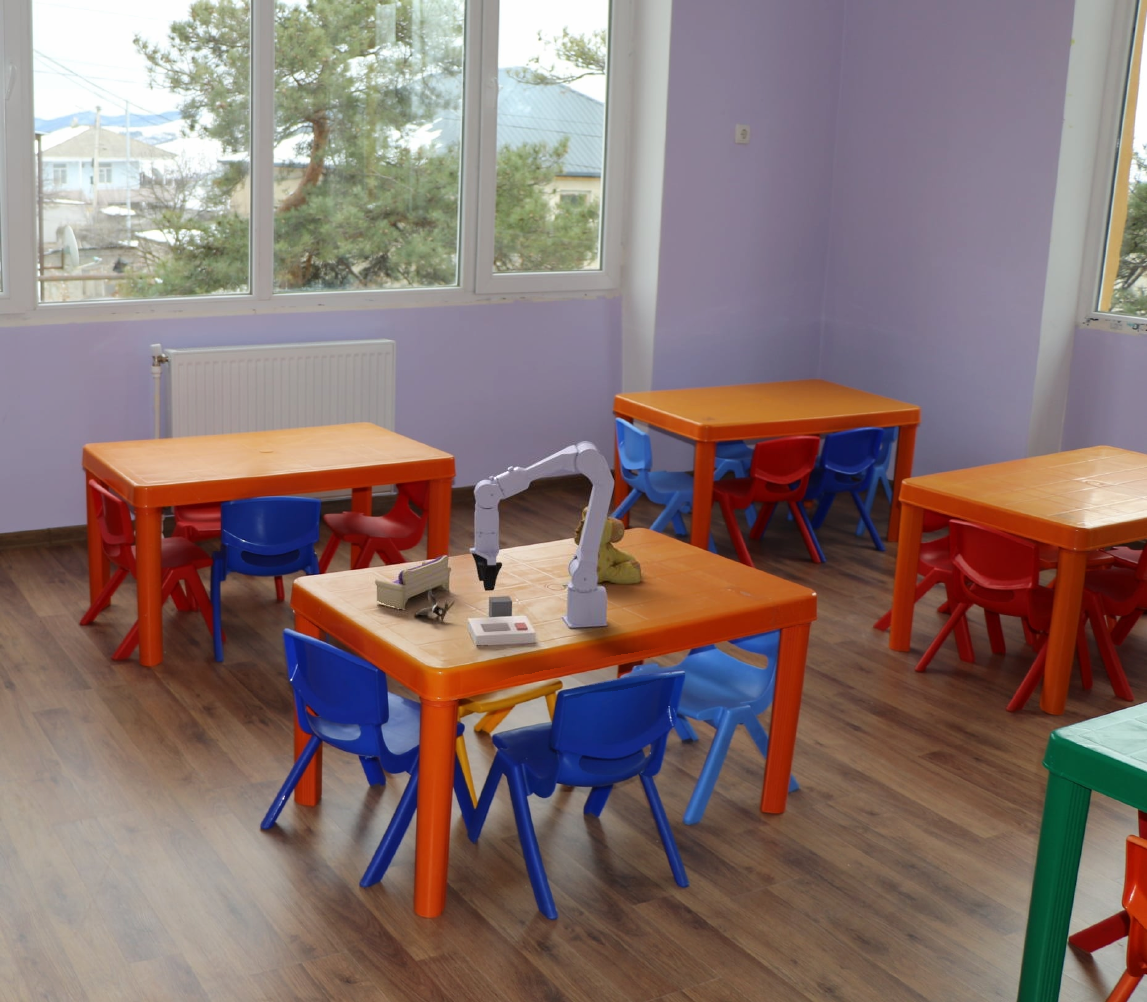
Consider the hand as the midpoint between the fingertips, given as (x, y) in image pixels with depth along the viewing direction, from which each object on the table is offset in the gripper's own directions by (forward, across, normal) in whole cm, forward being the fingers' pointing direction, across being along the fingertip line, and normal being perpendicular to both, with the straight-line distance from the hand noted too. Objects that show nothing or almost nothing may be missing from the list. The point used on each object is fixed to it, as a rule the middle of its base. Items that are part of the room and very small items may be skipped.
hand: (486, 585), depth 306 cm
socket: (+10, +9, +2) cm, 13 cm away
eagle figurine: (+10, -6, -12) cm, 17 cm away
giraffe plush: (+10, -30, +37) cm, 49 cm away
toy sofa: (+10, -22, -15) cm, 28 cm away
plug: (+10, -3, +4) cm, 11 cm away
